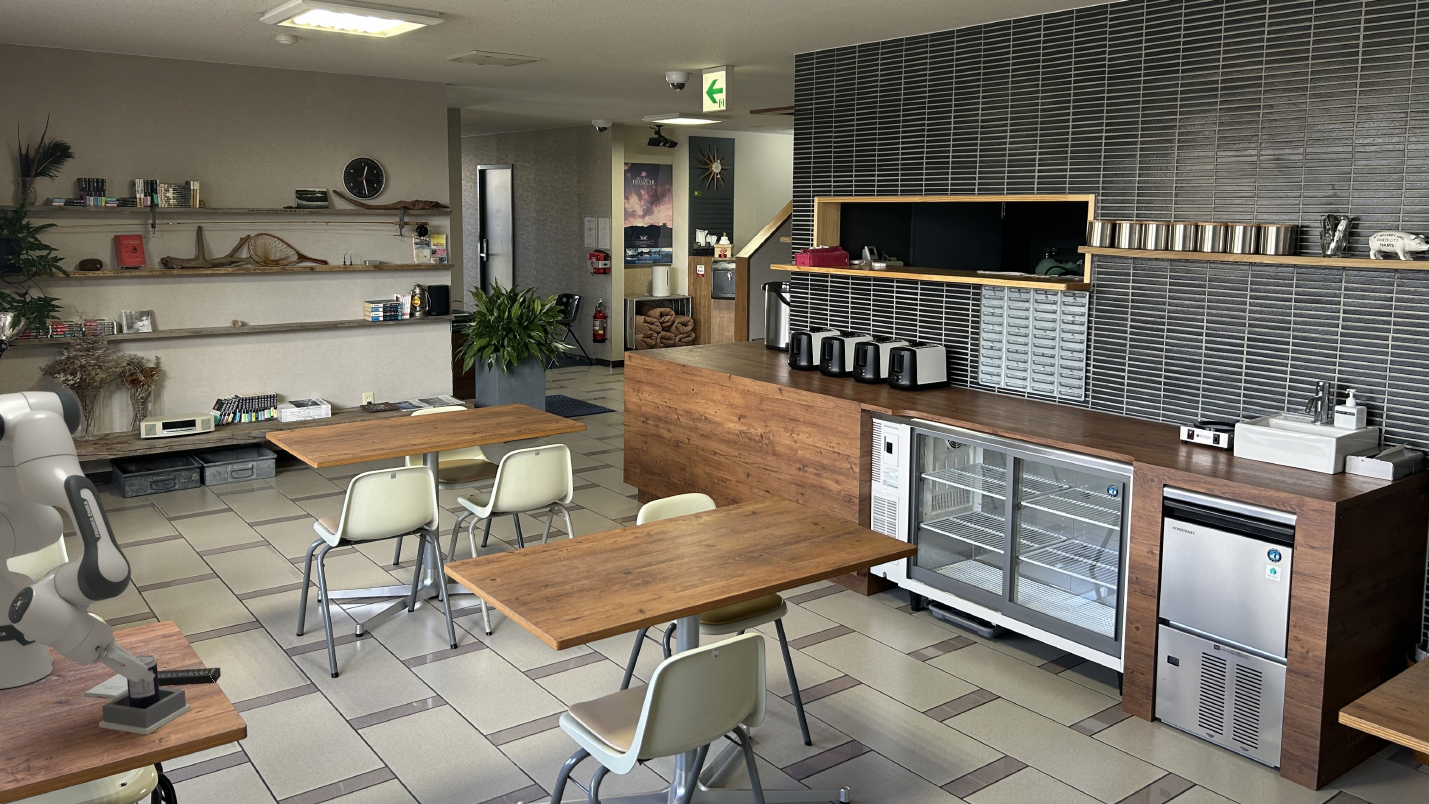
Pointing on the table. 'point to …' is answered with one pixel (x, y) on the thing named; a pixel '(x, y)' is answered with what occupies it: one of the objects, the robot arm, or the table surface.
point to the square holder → (144, 712)
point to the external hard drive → (110, 688)
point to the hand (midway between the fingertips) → (145, 672)
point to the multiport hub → (188, 676)
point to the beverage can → (144, 686)
